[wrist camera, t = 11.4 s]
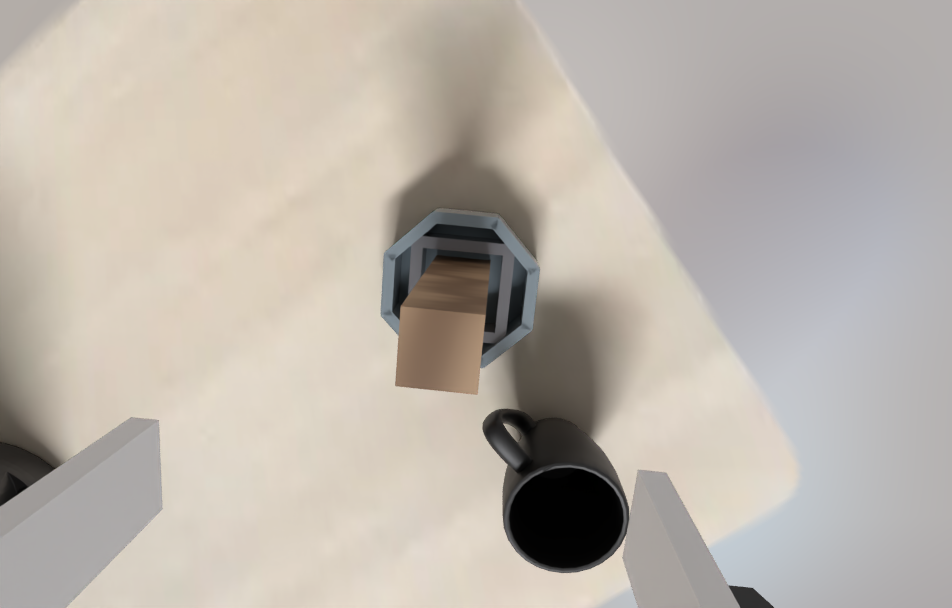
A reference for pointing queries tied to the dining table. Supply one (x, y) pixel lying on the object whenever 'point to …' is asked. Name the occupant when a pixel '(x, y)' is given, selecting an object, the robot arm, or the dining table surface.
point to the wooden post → (444, 327)
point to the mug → (557, 493)
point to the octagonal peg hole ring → (476, 240)
